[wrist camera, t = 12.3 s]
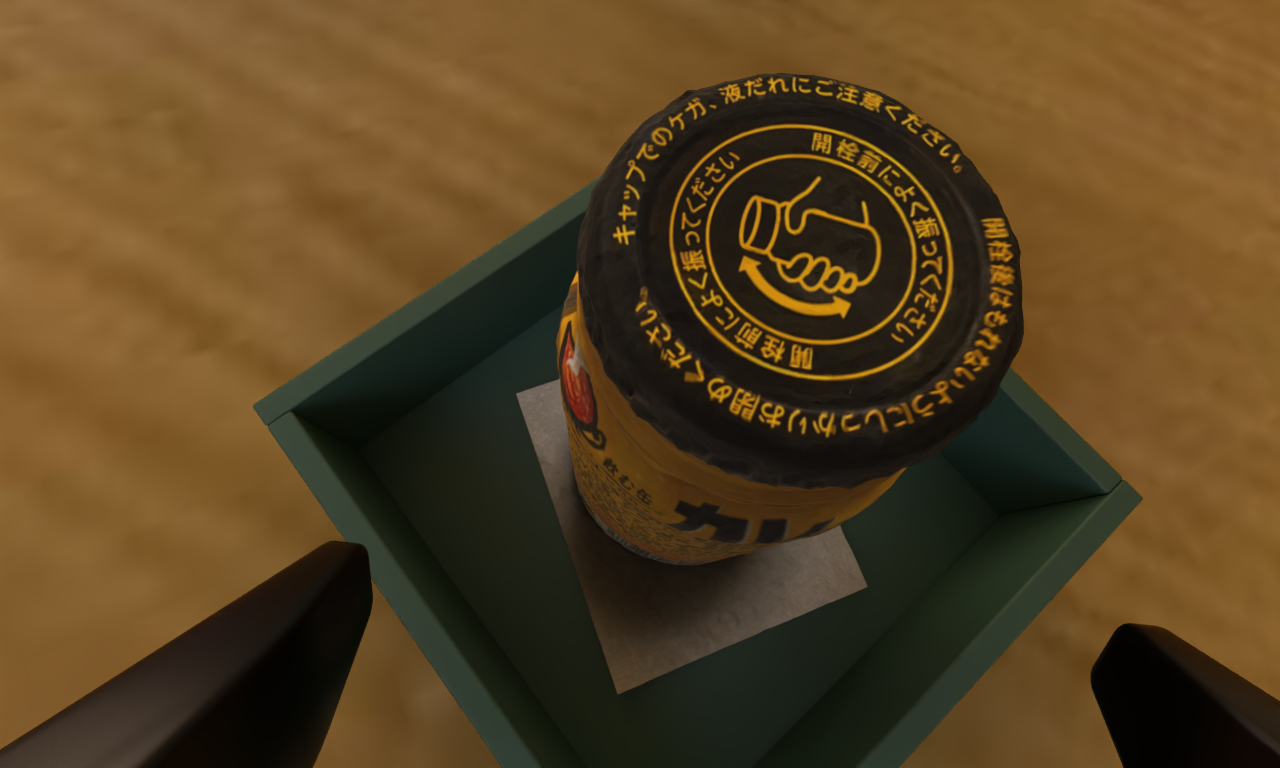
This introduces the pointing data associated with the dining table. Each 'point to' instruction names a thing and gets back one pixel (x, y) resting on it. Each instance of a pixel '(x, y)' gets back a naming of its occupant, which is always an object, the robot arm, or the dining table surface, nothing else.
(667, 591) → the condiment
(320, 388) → the square tray
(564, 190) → the dining table surface
